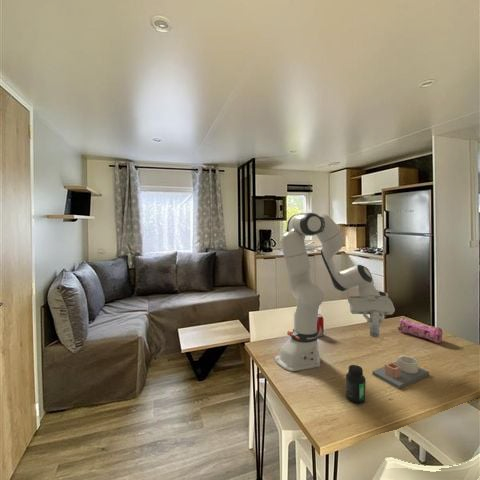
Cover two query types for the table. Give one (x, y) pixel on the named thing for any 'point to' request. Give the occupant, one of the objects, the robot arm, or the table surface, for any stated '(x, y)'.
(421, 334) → the pencil case
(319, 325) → the soda can
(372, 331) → the metal peg
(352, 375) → the supplement bottle
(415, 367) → the holder board
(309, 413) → the table surface
